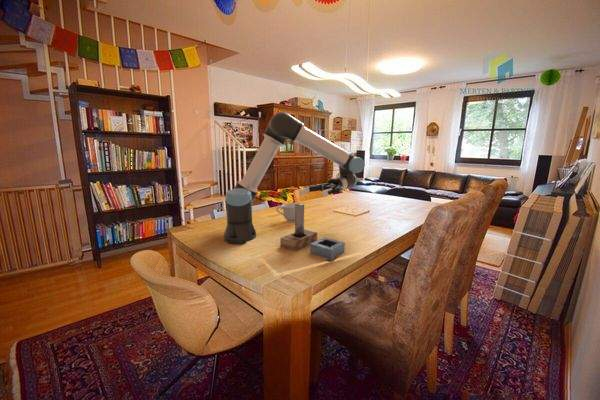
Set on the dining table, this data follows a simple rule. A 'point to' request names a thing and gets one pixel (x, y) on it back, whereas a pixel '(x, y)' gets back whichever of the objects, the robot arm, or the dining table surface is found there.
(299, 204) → the grey brown square post
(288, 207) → the teacup
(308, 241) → the brown rectangular block
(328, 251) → the socket block
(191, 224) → the dining table surface
